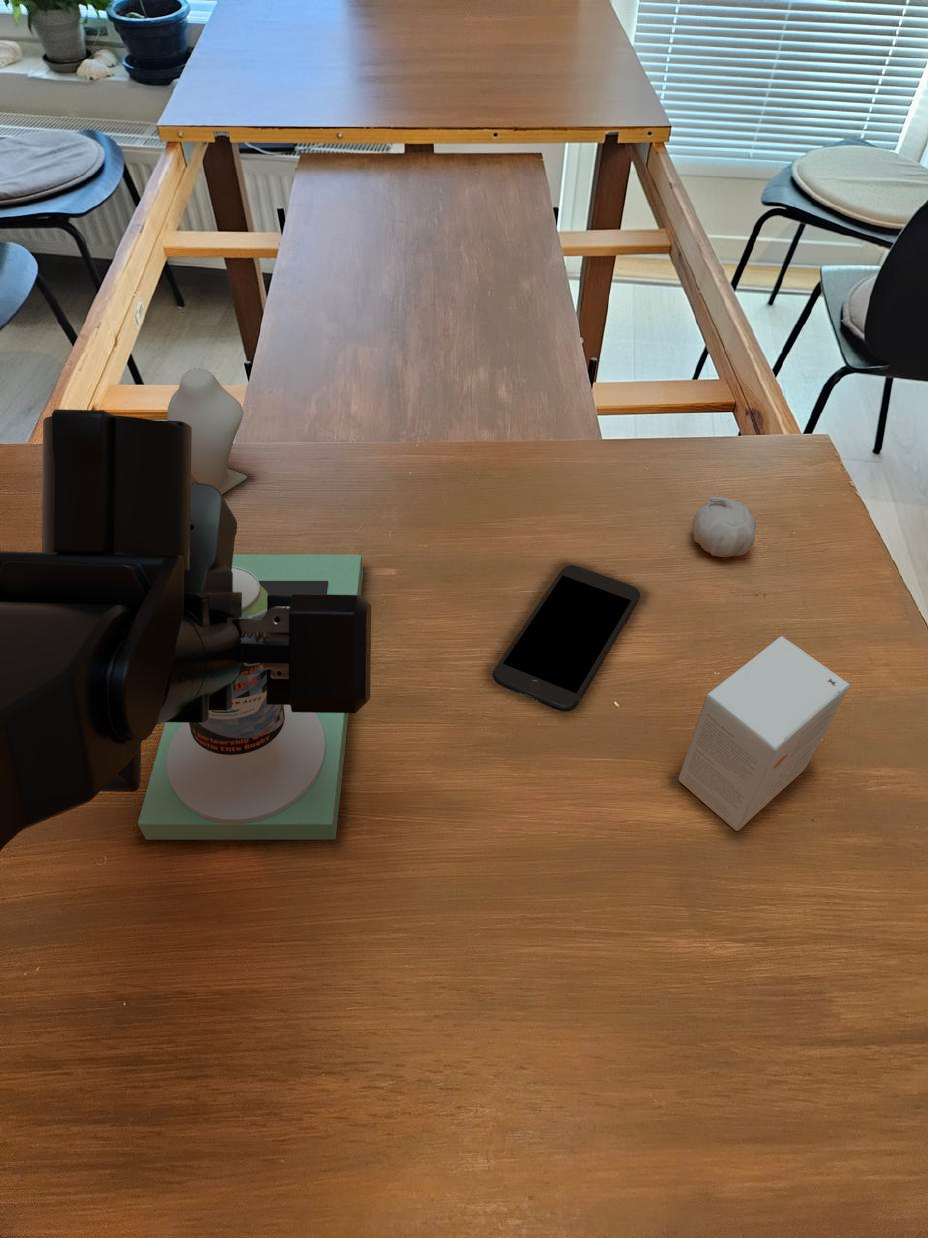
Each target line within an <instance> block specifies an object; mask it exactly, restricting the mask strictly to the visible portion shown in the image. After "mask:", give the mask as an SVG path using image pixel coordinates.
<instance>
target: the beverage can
mask: <svg viewBox="0 0 928 1238" xmlns="http://www.w3.org/2000/svg"><path fill="white" fill-rule="evenodd" d="M232 572H233V592H242V616H241V617H240V618H236V619H262V618H263V617H264V615H265V613H266V612H267V595H268V593H267V592H266V590H265V589H264V588H263V587H262V586H261V585H260V584H259V581H258V579H257V578H256V577H255V576H254V575H253V574H252V573H251V572H249V571H247V570H245V569H242V568H239V567H234V566H232ZM241 642H263V637H262V634H261V633H260V636H259V638H255V635H254V633H253V635H252V637H251V638H248V637H247V634H246V633H245V636H244V638H241ZM284 721H285V712H284V705H267V669H263V663H241V667H240V670H239V682H238V683H237V684H235V685H232V708H231V709H229V710H227V711H224V710H209V720H207V721H205V722H203V723H189V725H190V730H191V734H192V736H193V738H194V740H195V741H196V742H197V743H198V744H199V745H200V746H201V747H202V748H204V749H206V750H208V751H210V752H213V753H217V754H222V755H239V754H245V753H249V752H252V751H255V750H258V749H260V748H262V747H264V746H265V745H267V744H268V743H270V742H271V741H272V740H273V739H274V738H275V737H276V736H277V735H278V734H279V733H280V731H281V729H282V727H283V725H284Z"/></svg>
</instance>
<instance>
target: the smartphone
mask: <svg viewBox="0 0 928 1238" xmlns="http://www.w3.org/2000/svg"><path fill="white" fill-rule="evenodd" d="M640 597H641V592H640V590H639V589H638V588H637V587H635V586H634V585H631V584H629V583H626V582H623V581H621V580H617V579H614V578H612V577H609V576H606V575H604V574H601V573H598V572H595V571H592V570H590V569H587V568H584V567H581V566H579V565H572V564H570V565H566V566H564V567H563V568H562V569H561V570H560V571H559V573H558V574H557V576H556V577H555V579H554V580H553V582H552V583H551V585H550V586H549V587H548V589H547V590H546V591H545V593H544V595H543V596H542V597H541V599H540V600H539V602H538V603H537V605H536V606H535V608H534V609H533V611H532V613H531V614H530V615H529V617H528V618H527V619H526V621H525V622H524V624H523V625H522V627H521V629H520V630H519V631H518V632H517V634H516V636H515V637H514V639H513V640H512V641H511V643H510V645H509V646H508V648H507V649H506V651H505V653H503V655H502V657H501V658H500V659H499V661H498V662H497V664H496V665H495V667H494V669H493V671H492V678H493V680H494V682H495V683H496V684H497V685H499V686H502V687H504V688H506V689H508V690H511V691H512V692H514V693H516V694H520V695H521V696H526V697H529V698H531V699H533V700H534V701H535V702H538V703H540V704H543V705H546V706H547V707H549V708H552V709H554V710H557V711H560V712H572V711H573V710H575V709H576V708H577V707H578V706H579V704H580V703H581V701H582V699H583V697H584V696H585V694H586V692H587V691H588V689H589V687H590V685H591V684H592V682H593V680H594V679H595V677H596V675H597V674H598V672H599V670H600V668H601V666H602V665H603V664H604V662H605V660H606V658H607V656H608V655H609V653H610V651H611V650H612V647H614V644H615V642H616V641H617V639H618V637H619V636H620V634H621V632H622V630H623V629H624V627H625V625H626V624H627V623H628V621H629V620H630V618H631V614H633V611H634V610H635V608H636V606H637V605H638V603H639V601H640Z"/></svg>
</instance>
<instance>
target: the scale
mask: <svg viewBox="0 0 928 1238" xmlns="http://www.w3.org/2000/svg"><path fill="white" fill-rule="evenodd" d="M232 566H234V567H239V568H242V569H245V570H247V571H249V572H251V573H252V574H253V575H254V576H255V577H256V578H257V579H258V581H259V584H260V585H261V586H262V587H263V588H264V589H265V590H266V592H267V593H268V595H293V594H336V595H362V591H363V590H362V589H363V580H364V564H363V555H362V554H281V553H280V554H275V553H274V554H266V553H265V554H262V553H261V554H260V553H259V554H258V553H256V554H244V553H243V554H240V553H239V554H235V553H233V562H232ZM284 712H285V721H284V725H283V727H282V729H281V731H280V733H279V734H278V735H277V736H276V737H275V738H274V739H273V740H272V741H271V742H270V743H268V744H267V745H265V746H264V747H262V748H260V749H258V750H255V751H252V752H249V753H245V754H239V755H222V754H217V753H213V752H210V751H208V750H206V749H204V748H202V747H201V746H200V745H199V744H198V743H197V742H196V741H195V740H194V738H193V736H192V734H191V730H190V725H189V723H180V722H164V726H163V729H162V733H161V737H160V740H159V743H158V747H157V751H156V755H155V759H154V762H153V765H152V769H151V773H150V777H149V780H148V783H147V788H146V792H145V796H144V799H143V802H142V807H141V810H140V814H139V817H138V821H137V826H138V827H139V829H140V831H141V833H142V835H143V836H144V839H145V840H147V841H148V840H149V841H150V840H151V841H152V840H153V841H155V840H156V841H157V840H163V841H165V840H166V841H167V840H168V841H170V840H173V841H174V840H175V841H176V840H177V841H179V840H182V841H183V840H184V841H185V840H187V841H188V840H189V841H190V840H192V841H193V840H197V841H207V840H208V841H209V840H210V841H212V840H218V841H219V840H221V841H223V840H225V841H226V840H227V841H230V840H232V841H233V840H234V841H235V840H239V841H241V840H242V841H243V840H245V841H246V840H249V841H250V840H251V841H252V840H253V841H254V840H256V841H257V840H259V841H262V840H269V841H270V840H273V841H274V840H275V841H277V840H281V841H282V840H283V841H286V840H287V841H288V840H290V841H291V840H295V841H298V840H299V841H300V840H301V841H302V840H303V841H304V840H307V841H308V840H313V841H314V840H316V841H317V840H319V841H320V840H322V841H323V840H324V841H325V840H332V841H333V840H336V839H337V832H338V831H337V830H338V820H339V810H340V801H341V792H342V782H343V771H344V763H345V755H346V745H347V744H346V743H347V733H348V726H349V725H348V724H349V716H350V715H349V714H350V713H305V712H292V710H291V706H290V705H284Z"/></svg>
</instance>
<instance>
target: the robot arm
mask: <svg viewBox="0 0 928 1238" xmlns="http://www.w3.org/2000/svg"><path fill="white" fill-rule="evenodd" d="M191 443H192V427H191V426H190V425H189V424H187V423H185V422H181V421H168V420H160V419H159V420H156V419H149V418H143V417H135V416H125V415H116V414H115V415H114V414H112V413H110V412H108V411H106V410H103V409H102V410H101V409H62V408H61V409H59V408H57V409H53V411H52V413H51V415H49V416H47V417H45V418H44V419H42V487H41V488H42V489H41V490H42V491H41V492H42V493H41V494H42V496H41V497H42V499H41V501H42V502H41V503H42V504H41V505H42V506H41V507H42V508H41V509H42V511H41V551H18V550H17V551H16V550H15V551H13V550H12V551H11V550H10V551H9V550H0V852H1V851H2V850H3V849H4V848H5V847H6V846H7V845H8V843H10V842H11V841H12V840H13V839H14V838H15V837H16V836H17V835H18V834H20V833H22V832H23V831H25V830H26V829H29V828H31V827H33V826H35V825H38V824H40V823H42V822H45V821H48V820H50V819H53V818H55V817H57V816H59V815H62V814H64V813H67V812H69V811H72V810H74V809H77V808H79V807H82V806H84V805H86V804H88V803H90V802H91V801H92V800H93V799H94V798H95V797H96V796H98V794H99V793H101V792H110V793H111V792H112V793H114V792H115V793H135V792H138V790H139V789H140V787H141V783H142V743H143V742H144V741H146V740H147V739H148V738H149V737H151V735H152V734H153V733H154V730H155V728H156V726H158V725H161V724H163V723H165V722H180V723H203V722H205V721H207V720H209V710H224V711H227V710H229V709H231V708H232V685H235V684H237V683H238V682H239V670H240V667H241V663H263V669H267V705H290V706H291V710H292V712H305V713H349V714H357V712H359V711H360V710H361V709H362V707H364V706H365V705H366V704H367V703H368V702H369V701H370V699H371V670H372V667H371V665H372V661H371V659H372V605H371V603H370V602H369V601H368V600H367V599H366V598H365V597H364V596H363V595H362V594H361V595H336V594H293V595H267V612H266V613H265V615H264V617H263V618H262V619H236V618H240V617H241V616H242V592H233V572H232V562H233V554H234V553H235V552H234V550H235V541H236V535H237V532H238V522H237V518H236V516H235V515H234V513H233V512H232V509H230V506H229V505H228V502H227V501H226V500H225V498H224V497H223V494H222V495H221V493H220V491H219V490H218V489H217V488H216V487H214V486H212V485H210V484H201V483H199V482H197V483H192V474H191ZM245 633H246V634H247V637H248V638H251V637H252V635H253V633H254V635H255V638H259V636H260V633H261V634H262V637H263V642H241V638H244V636H245Z"/></svg>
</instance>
